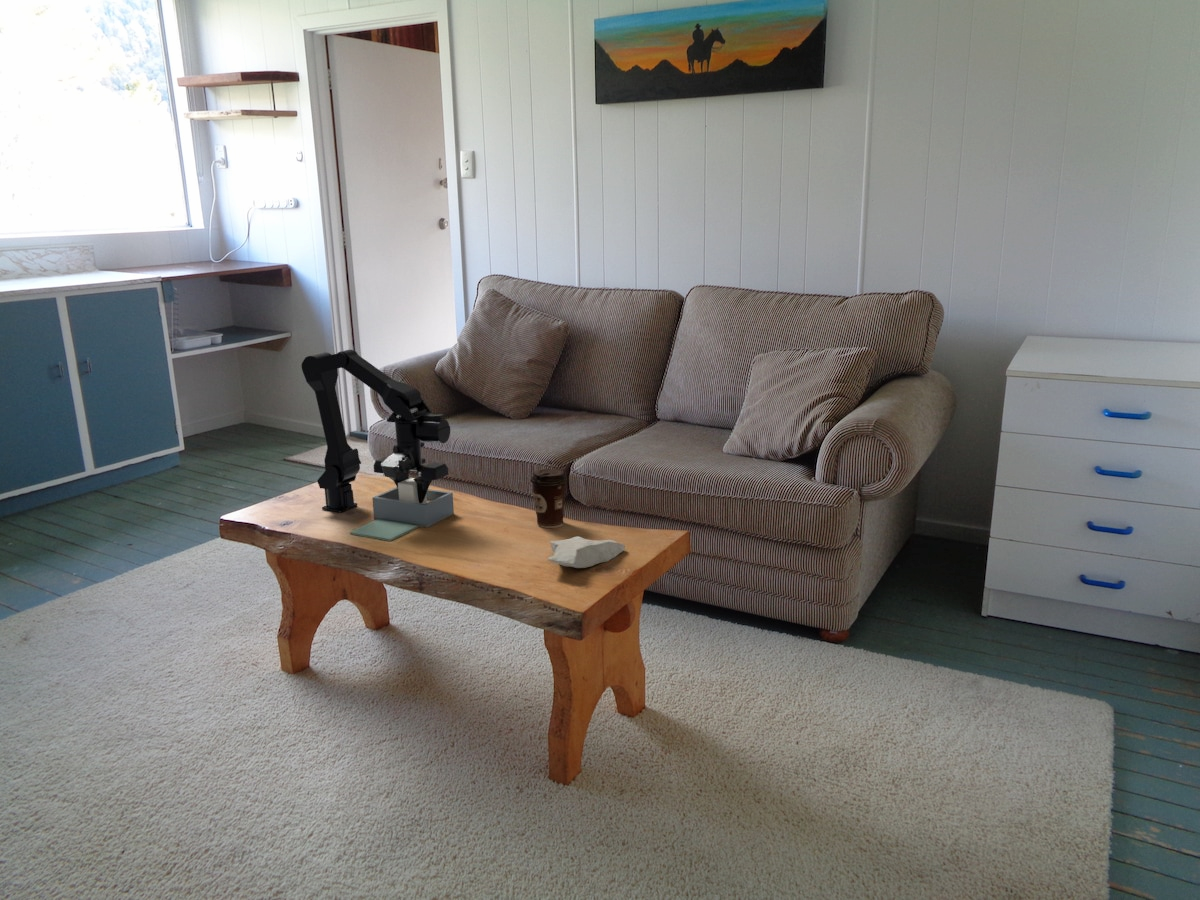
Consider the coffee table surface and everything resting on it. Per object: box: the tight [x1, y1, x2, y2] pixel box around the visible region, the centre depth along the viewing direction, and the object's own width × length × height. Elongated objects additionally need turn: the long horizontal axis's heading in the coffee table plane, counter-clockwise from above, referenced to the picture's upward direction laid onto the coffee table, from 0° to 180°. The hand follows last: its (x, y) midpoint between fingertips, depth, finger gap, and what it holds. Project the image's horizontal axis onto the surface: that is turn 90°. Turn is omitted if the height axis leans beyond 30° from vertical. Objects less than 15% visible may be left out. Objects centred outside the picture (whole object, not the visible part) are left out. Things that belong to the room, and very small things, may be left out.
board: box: [349, 519, 419, 542], centre depth 217 cm, size 12×10×1 cm
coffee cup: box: [529, 468, 568, 529], centre depth 217 cm, size 9×8×13 cm
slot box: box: [372, 486, 455, 528], centre depth 226 cm, size 16×11×6 cm
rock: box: [547, 535, 626, 569], centre depth 196 cm, size 21×5×15 cm
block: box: [398, 477, 427, 504], centre depth 225 cm, size 4×5×6 cm
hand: (413, 501), depth 226 cm, fingers closed on block, 4 cm apart
